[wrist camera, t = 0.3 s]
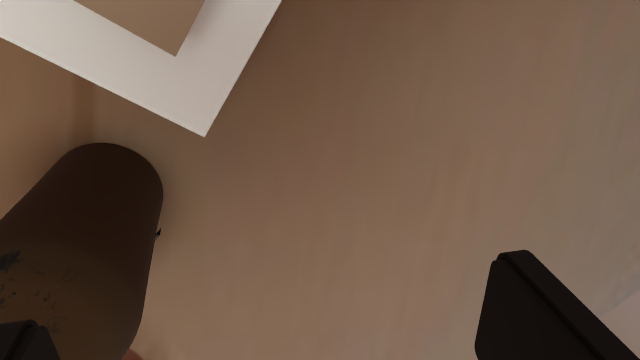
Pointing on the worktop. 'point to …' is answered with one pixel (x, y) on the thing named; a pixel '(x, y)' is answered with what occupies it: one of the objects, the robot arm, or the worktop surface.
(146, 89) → the lid
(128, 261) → the olive oil
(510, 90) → the worktop surface
